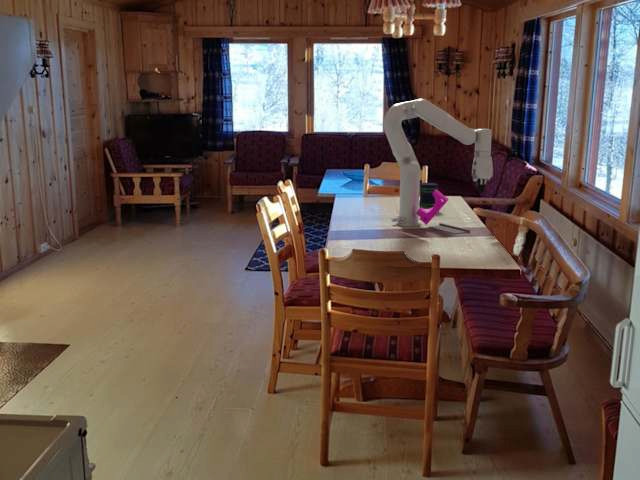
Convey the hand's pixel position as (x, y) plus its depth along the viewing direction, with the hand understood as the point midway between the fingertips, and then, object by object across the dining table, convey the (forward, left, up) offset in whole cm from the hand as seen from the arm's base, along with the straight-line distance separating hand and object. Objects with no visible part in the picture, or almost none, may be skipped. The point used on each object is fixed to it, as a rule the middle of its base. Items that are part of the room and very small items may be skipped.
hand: (481, 192), depth 314 cm
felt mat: (-21, 0, -17) cm, 27 cm away
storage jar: (+9, +47, -17) cm, 51 cm away
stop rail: (-16, 0, -17) cm, 23 cm away
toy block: (-22, +6, -9) cm, 24 cm away
